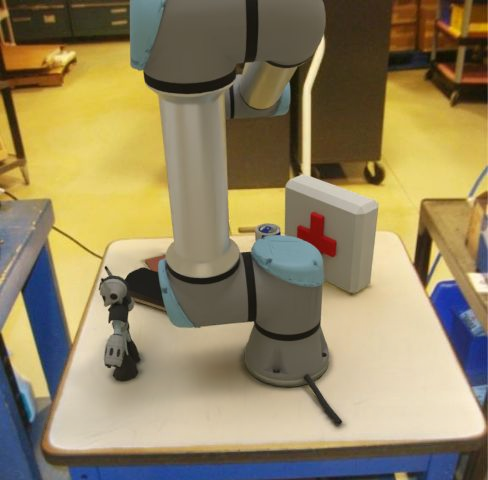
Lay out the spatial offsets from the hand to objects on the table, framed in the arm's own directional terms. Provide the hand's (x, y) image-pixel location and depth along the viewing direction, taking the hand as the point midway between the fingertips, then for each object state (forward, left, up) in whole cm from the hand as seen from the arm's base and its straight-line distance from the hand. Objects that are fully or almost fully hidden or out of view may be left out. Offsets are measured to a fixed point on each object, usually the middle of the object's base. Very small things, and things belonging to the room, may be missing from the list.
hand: (197, 238), depth 139 cm
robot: (-29, +26, -6) cm, 40 cm away
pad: (+3, +1, -6) cm, 7 cm away
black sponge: (-10, +13, -6) cm, 18 cm away
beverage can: (-19, -8, -6) cm, 22 cm away
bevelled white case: (-19, -22, -6) cm, 30 cm away
